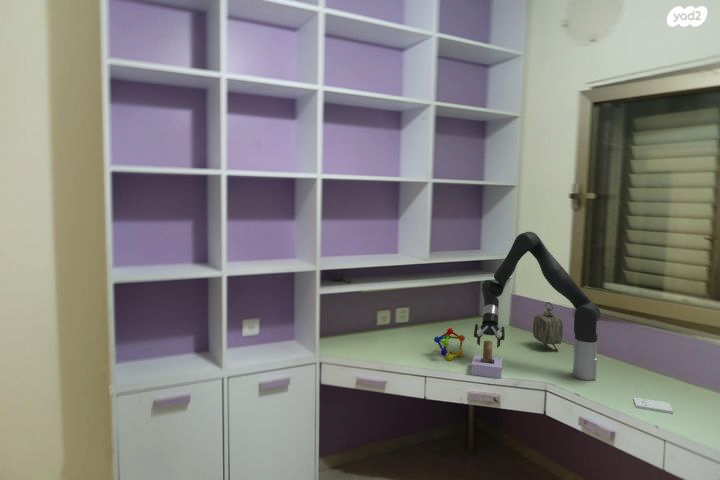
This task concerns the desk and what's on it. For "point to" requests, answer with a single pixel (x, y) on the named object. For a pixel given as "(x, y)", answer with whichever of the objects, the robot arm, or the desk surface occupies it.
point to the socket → (486, 367)
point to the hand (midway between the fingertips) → (488, 345)
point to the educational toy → (445, 343)
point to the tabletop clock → (548, 328)
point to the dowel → (487, 352)
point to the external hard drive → (653, 405)
